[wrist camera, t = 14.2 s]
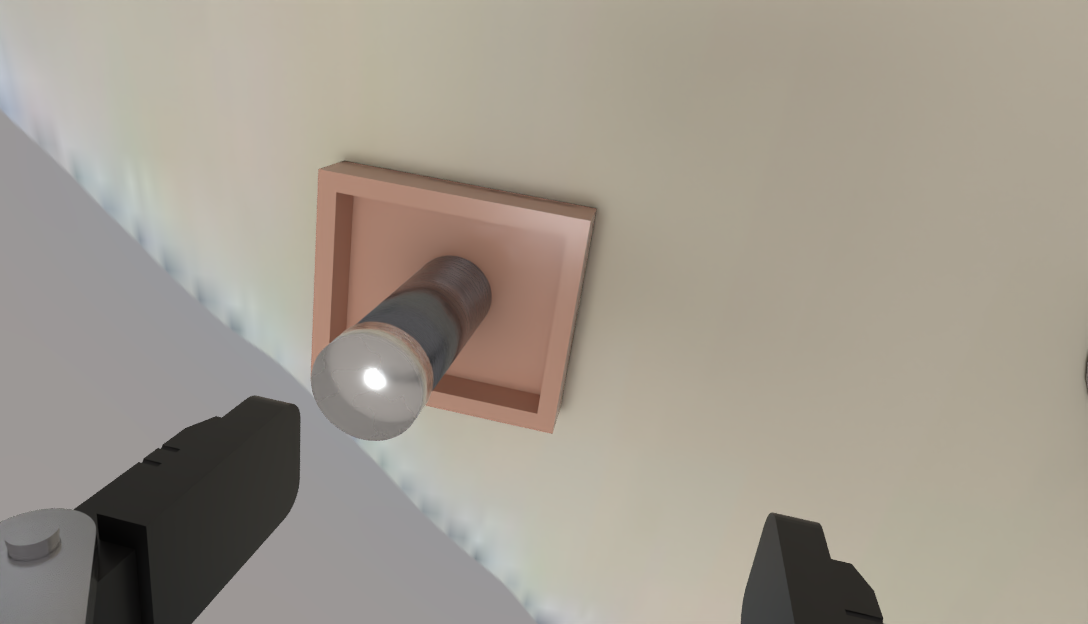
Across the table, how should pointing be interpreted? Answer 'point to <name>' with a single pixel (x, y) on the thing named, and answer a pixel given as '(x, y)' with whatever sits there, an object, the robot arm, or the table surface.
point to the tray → (484, 239)
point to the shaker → (400, 350)
